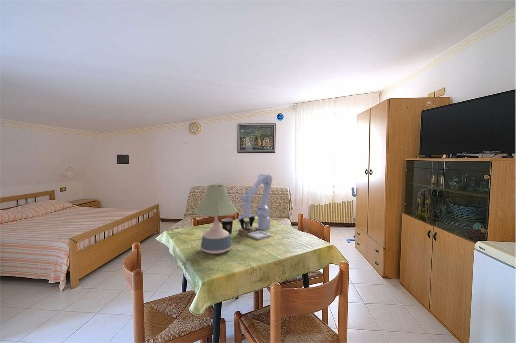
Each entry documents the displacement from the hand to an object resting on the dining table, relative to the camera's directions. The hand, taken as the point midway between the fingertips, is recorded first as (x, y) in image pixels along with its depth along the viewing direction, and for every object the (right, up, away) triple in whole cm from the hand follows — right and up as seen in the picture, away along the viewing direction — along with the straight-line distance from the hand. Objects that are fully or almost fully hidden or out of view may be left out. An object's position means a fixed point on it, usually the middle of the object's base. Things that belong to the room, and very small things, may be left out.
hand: (246, 227), depth 187 cm
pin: (0, -4, 0) cm, 4 cm away
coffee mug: (-16, -5, +1) cm, 17 cm away
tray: (+9, -5, -6) cm, 12 cm away
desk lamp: (-17, -6, -34) cm, 39 cm away
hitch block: (0, -4, 0) cm, 4 cm away
